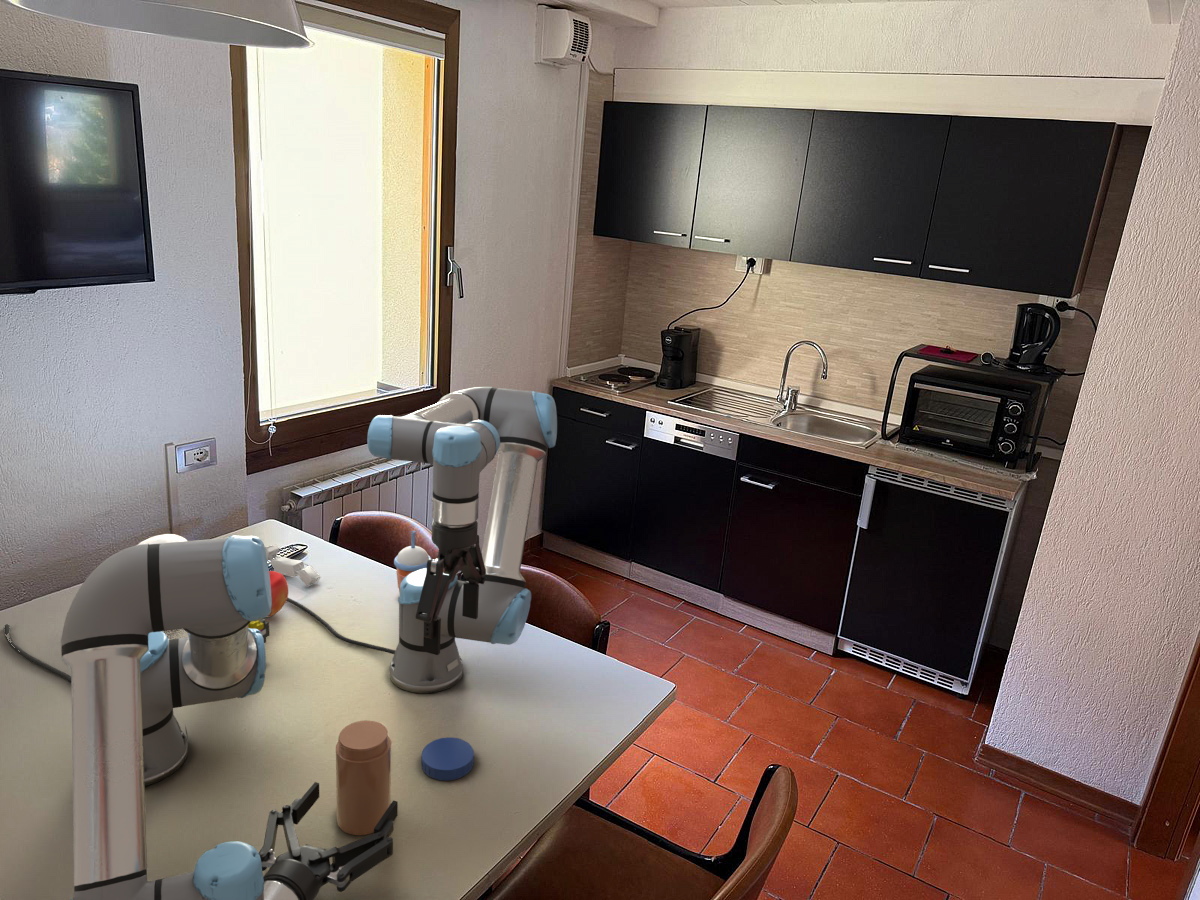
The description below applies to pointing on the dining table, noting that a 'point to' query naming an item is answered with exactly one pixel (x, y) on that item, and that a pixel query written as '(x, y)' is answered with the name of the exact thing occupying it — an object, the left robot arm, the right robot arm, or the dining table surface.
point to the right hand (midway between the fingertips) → (451, 634)
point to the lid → (447, 758)
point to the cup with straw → (410, 560)
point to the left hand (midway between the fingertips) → (356, 798)
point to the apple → (278, 591)
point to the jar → (362, 776)
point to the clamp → (291, 566)
